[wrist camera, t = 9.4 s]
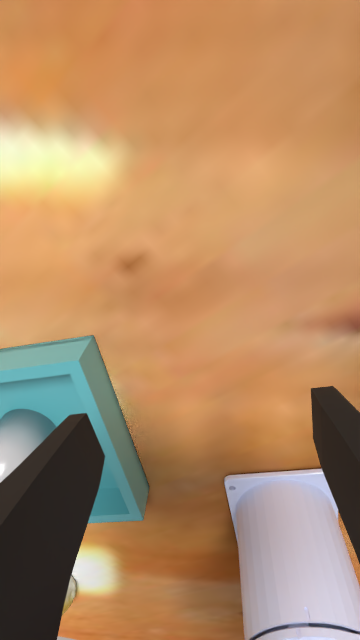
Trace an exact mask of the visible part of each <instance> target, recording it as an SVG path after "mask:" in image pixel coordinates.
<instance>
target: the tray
mask: <svg viewBox="0 0 360 640" xmlns="http://www.w3.org/2000/svg"><path fill="white" fill-rule="evenodd" d="M14 409H29V410H33V411H36V412H39V413H41V414H43V415H44V416H46V417H47V418H49V419H50V420H51V421H52V422H53V423H54V424H55V425H56V427H57V426H58V425H59V424H60V423H62V422H63V421H64V420H65V419H66V418H67V417H68V416H69V415H71V414H81V413H87V415H88V417H89V419H90V422H91V424H92V426H93V429H94V431H95V433H96V436H97V438H98V440H99V443H100V445H101V447H102V450H103V452H104V454H105V460H104V466H103V471H102V476H101V481H100V486H99V489H98V493H97V496H96V499H95V502H94V505H93V508H92V512H91V515H90V518H89V521H88V523H102V522H122V521H141V520H144V514H145V509H146V503H147V497H148V492H149V485H148V482H147V479H146V476H145V474H144V471H143V468H142V466H141V463H140V460H139V457H138V455H137V452H136V449H135V446H134V444H133V441H132V438H131V436H130V433H129V430H128V427H127V425H126V422H125V419H124V417H123V414H122V411H121V408H120V406H119V403H118V400H117V398H116V395H115V392H114V389H113V387H112V384H111V381H110V379H109V376H108V373H107V370H106V368H105V365H104V362H103V360H102V357H101V354H100V351H99V349H98V346H97V343H96V340H95V338H94V335H92V336H85V337H78V338H71V339H65V340H58V341H51V342H44V343H38V344H31V345H24V346H17V347H11V348H4V349H0V419H1V418H2V416H3V415H4V414H5V413H7V412H9V411H11V410H14Z"/></svg>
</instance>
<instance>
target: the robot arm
mask: <svg viewBox="0 0 360 640" xmlns="http://www.w3.org/2000/svg"><path fill="white" fill-rule="evenodd" d="M311 399H312V421H313V439H314V443H315V446H316V450H317V453H318V457H319V460H320V464H321V467H322V469H309V470H295V471H281V472H267V473H253V474H238V475H228V476H226V477H225V478H224V484H225V489H226V493H227V498H228V502H229V507H230V511H231V516H232V520H233V525H234V529H235V534H236V539H237V543H238V550H239V565H240V580H241V594H242V609H243V624H244V639H245V640H360V586H359V583H358V580H357V577H356V574H355V571H354V568H353V565H352V562H351V559H350V556H349V553H348V550H347V547H346V544H345V541H344V538H343V535H342V532H341V529H340V526H339V523H338V510H339V513H340V515H341V518H342V520H343V523H344V525H345V528H346V530H347V533H348V535H349V537H350V540H351V542H352V545H353V547H354V550H355V552H356V555H357V558H358V561H359V563H360V412H359V411H358V410H356V409H355V408H354V407H353V406H352V405H351V404H350V403H349V402H348V401H347V400H346V399H345V398H344V396H343V395H342V394H341V393H340V392H339V391H338V390H337V389H336V388H334V387H333V386H330V387H320V388H311ZM104 460H105V454H104V452H103V450H102V447H101V445H100V443H99V440H98V438H97V436H96V433H95V431H94V429H93V426H92V424H91V422H90V419H89V417H88V415H87V413H81V414H71V415H69V416H68V417H67V418H66V419H65V420H64V421H63V422H62V423H60V424H59V425H58V426H57V427H56V428H55V429H54V430H53V431H52V432H51V433H50V435H49V436H48V437H47V438H46V439H45V440H44V441H43V442H42V443H41V444H40V445H39V446H38V447H37V448H36V449H35V450H34V451H33V452H32V453H31V454H30V455H29V456H28V457H27V458H26V459H25V460H24V461H23V462H22V463H21V464H20V465H19V466H18V467H17V468H16V469H14V470H13V471H12V472H11V473H10V474H9V475H8V476H7V477H6V478H5V479H4V480H3V481H2V482H1V483H0V640H57V636H58V631H59V626H60V621H61V616H62V612H63V608H64V603H65V599H66V595H67V590H68V586H69V582H70V578H71V574H72V571H73V567H74V564H75V560H76V557H77V554H78V551H79V548H80V545H81V542H82V539H83V536H84V533H85V530H86V527H87V524H88V521H89V518H90V515H91V512H92V508H93V505H94V502H95V499H96V496H97V493H98V489H99V486H100V481H101V476H102V471H103V466H104Z"/></svg>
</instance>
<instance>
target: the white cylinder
mask: <svg viewBox="0 0 360 640" xmlns="http://www.w3.org/2000/svg"><path fill="white" fill-rule="evenodd" d="M55 428H56V425H55V424H54V423H53V422H52V421H51V420H50V419H49V418H47V417H46V416H44V415H43V414H41V413H39V412H36V411H33V410H29V409H14V410H11V411H9V412H7V413H5V414H4V415H3V416H2V418H1V419H0V483H1V482H2V481H3V480H4V479H5V478H6V477H7V476H8V475H9V474H10V473H11V472H12V471H13V470H14V469H16V468H17V467H18V466H19V465H20V464H21V463H22V462H23V461H24V460H25V459H26V458H27V457H28V456H29V455H30V454H31V453H32V452H33V451H34V450H35V449H36V448H37V447H38V446H39V445H40V444H41V443H42V442H43V441H44V440H45V439H46V438H47V437H48V436H49V435H50V433H51V432H52V431H53V430H54V429H55Z"/></svg>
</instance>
